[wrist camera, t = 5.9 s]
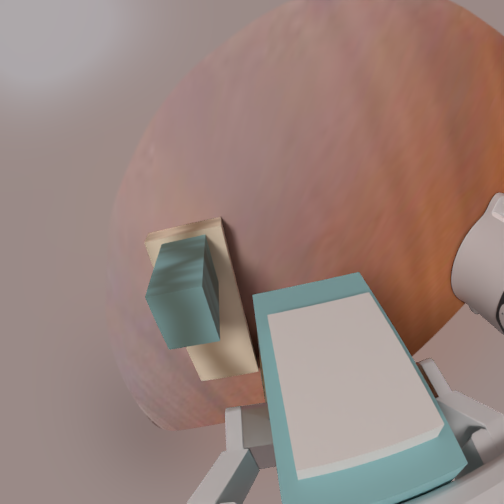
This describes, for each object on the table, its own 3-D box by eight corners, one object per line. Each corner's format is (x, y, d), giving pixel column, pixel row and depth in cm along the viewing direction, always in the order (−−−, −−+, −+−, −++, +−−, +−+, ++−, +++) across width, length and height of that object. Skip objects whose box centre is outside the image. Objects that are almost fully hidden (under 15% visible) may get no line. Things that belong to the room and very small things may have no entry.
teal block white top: (358, 258, 11) (477, 451, 4) (356, 361, 14) (415, 514, 7) (249, 281, 11) (281, 518, 4) (272, 380, 14) (299, 547, 7)
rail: (220, 216, 29) (222, 275, 20) (256, 359, 38) (267, 426, 30) (148, 233, 29) (122, 295, 20) (201, 369, 38) (201, 436, 29)
